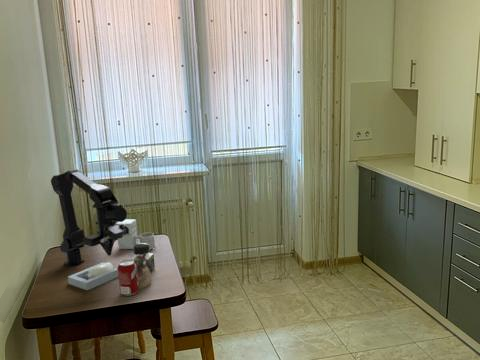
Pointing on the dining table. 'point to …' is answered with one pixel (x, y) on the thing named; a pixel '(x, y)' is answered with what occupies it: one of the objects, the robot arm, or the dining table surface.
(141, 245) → the medicine bottle
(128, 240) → the supplement box
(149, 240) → the mug
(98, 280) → the u rest
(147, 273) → the figurine
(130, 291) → the soda can
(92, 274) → the white bottle
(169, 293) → the dining table surface
